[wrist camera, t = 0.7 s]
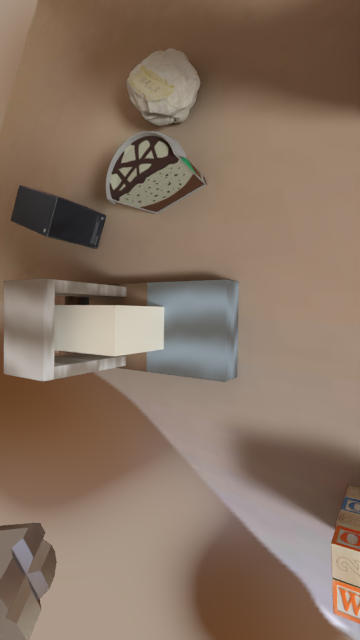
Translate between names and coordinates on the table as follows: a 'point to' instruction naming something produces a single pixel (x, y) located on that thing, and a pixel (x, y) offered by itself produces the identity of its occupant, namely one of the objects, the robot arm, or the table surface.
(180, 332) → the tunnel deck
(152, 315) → the cream block
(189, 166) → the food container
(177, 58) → the fossil replica
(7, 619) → the robot arm
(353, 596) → the stack of blocks
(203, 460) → the table surface
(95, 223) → the small box
